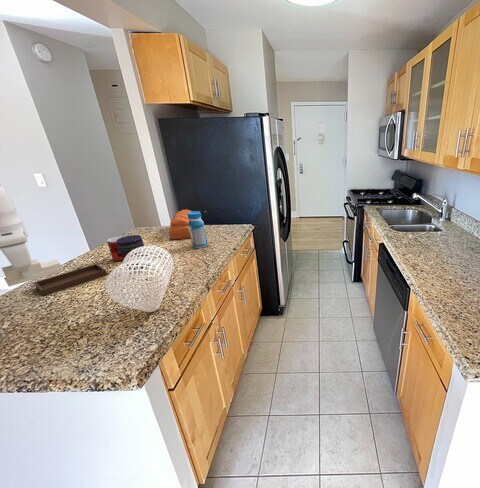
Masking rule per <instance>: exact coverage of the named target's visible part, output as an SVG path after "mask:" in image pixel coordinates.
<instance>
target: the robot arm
mask: <svg viewBox="0 0 480 488" xmlns="http://www.w3.org/2000/svg"><path fill="white" fill-rule="evenodd" d="M28 236H29V234H28V231H27V230H26V228H25V225H24V223H23V221H22V220H21V218H20V217H19V216H18V213H17V208H16V205H15V204H14V201H13V200H12V197H11V196H10V194H9V193H8V191H7V190H6V188H5V187H4V186H3V185H1V184H0V251H1V253H3V255H4V256H5V258H6V259H7V260H8V262H9V263H10V264H11V265H12V266H13V267H14V268H15V269H19V271H20V272H21V274H22V276H23V277H26V276H29V275H31V274H30V272H29V269H28V267H30V266H32V261H31V260H32V257H31V254H30V251H29V248H28V245H27V242H28V241H29V240H28Z"/></svg>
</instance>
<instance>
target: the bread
mask: <svg viewBox="0 0 480 488" xmlns="http://www.w3.org/2000/svg"><path fill="white" fill-rule="evenodd" d="M189 212H193V211H192V210H190V209H182V210H179V211H177V212H176V213H175V214H174V216H173V217H172V219H171V221H170V224H169V229H168V230H169V232H168V236H169V238H170V239H172V240H184V239H189V238H190V239H191V235H190V231H189V226H188V223H189V219H188V215H187V213H189Z"/></svg>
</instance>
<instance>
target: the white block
mask: <svg viewBox="0 0 480 488" xmlns="http://www.w3.org/2000/svg"><path fill="white" fill-rule="evenodd" d="M31 261H32V266H30V267H28V269H29V272H30V274H31V275H29V276H26V277H23V276H22V274H21V272H20V271H19V269H15V268H14V267H13V266H12V264H11V265H8V266H3V267H1V271H2V272H3V275H4V276H5V277H3V279H4V281H5V282H6V285H7V286H8V287H12V286H16V285H20V284H23V283H27V282H30V281H33V280H37V279H40V278H44V277H47V276H50V275H55V274H57V273H61V272H64V268H63V266H62V264H61V262H60V261H58V260H57V259H53V260H50V261H46V262H42V263H41V262H40V261H39V260H38V259H37V258H35V259H31Z"/></svg>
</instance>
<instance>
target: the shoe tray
mask: <svg viewBox="0 0 480 488" xmlns="http://www.w3.org/2000/svg"><path fill="white" fill-rule="evenodd" d="M104 276H108V273H107V270H106V269H105V268H104V267H102V266H101V265H99V264H98V263H94V264H91V265H87V266H83V267H82V268H78V269H77V268H76V269H73V270H70V271H68V272H64V273H60V274H58V275H54V276H50V277H48V278H44V279H41V280H38V281H34V285H35V287H36V289H37V290H38V291H39V292H40V294H41V295H42V296H43V297H45V296H47V295H51V294H54V293H57V292H60V291H62V290H65V289H68V288H72V287H75V286H77V285H80V284H83V283H86V282H89V281H92V280H95V279H98V278H101V277H104Z"/></svg>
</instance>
